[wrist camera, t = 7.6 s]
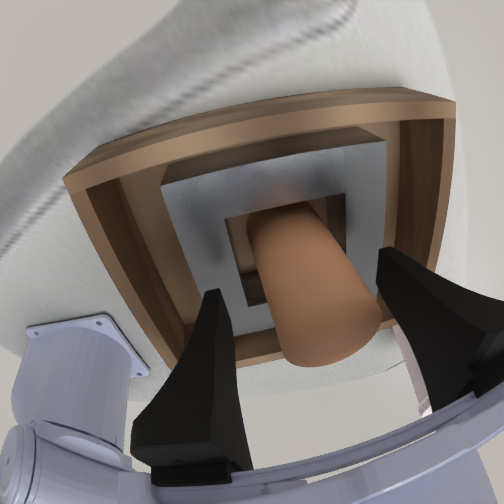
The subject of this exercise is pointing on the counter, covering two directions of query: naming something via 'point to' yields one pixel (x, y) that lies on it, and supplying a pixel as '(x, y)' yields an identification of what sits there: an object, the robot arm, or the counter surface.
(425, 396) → the smoothie
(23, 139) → the counter surface
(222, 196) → the socket plate
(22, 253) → the counter surface
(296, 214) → the peg
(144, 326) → the socket box
